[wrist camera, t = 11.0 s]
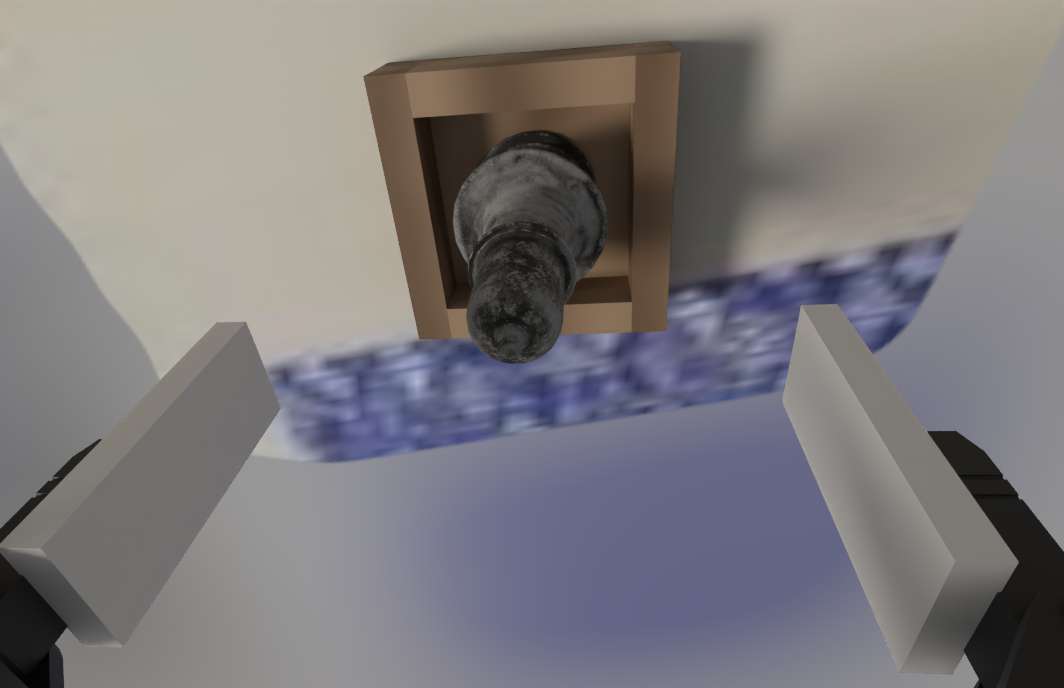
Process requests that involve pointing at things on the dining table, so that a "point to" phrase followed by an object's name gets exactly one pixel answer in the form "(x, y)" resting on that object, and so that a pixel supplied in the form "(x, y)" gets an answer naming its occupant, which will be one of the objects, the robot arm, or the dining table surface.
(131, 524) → the robot arm
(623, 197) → the walnut holder
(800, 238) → the dining table surface
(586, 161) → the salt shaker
